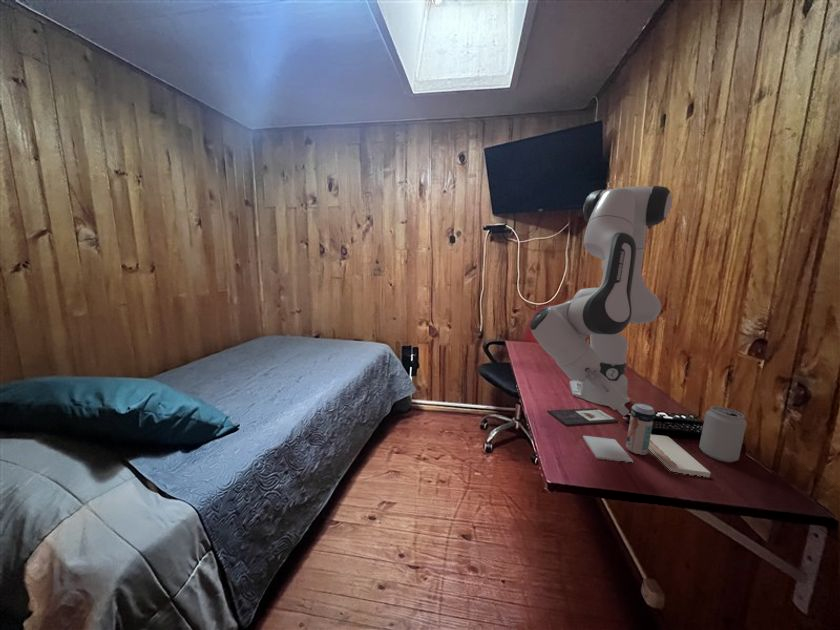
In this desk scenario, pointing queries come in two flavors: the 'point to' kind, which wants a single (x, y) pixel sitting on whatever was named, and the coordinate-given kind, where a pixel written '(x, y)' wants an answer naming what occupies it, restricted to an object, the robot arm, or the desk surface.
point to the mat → (607, 449)
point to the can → (722, 434)
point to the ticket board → (675, 456)
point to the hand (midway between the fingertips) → (616, 404)
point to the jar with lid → (640, 428)
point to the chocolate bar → (582, 416)
